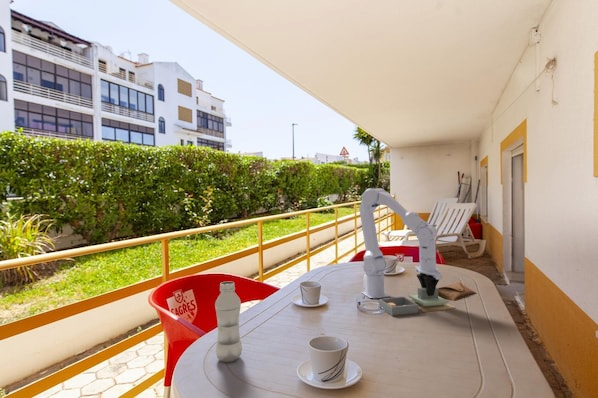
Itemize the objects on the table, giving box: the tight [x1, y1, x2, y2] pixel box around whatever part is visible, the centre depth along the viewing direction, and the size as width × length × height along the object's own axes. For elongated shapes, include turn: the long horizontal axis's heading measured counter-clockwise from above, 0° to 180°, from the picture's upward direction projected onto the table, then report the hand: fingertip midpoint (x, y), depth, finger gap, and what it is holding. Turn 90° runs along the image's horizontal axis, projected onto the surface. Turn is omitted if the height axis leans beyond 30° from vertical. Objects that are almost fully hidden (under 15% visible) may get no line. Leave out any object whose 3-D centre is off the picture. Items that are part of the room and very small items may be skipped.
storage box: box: [378, 296, 419, 317], centre depth 126 cm, size 10×10×3 cm
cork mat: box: [410, 299, 456, 313], centre depth 131 cm, size 13×13×1 cm
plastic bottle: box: [214, 281, 243, 363], centre depth 92 cm, size 6×7×20 cm
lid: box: [408, 287, 449, 306], centre depth 131 cm, size 10×10×5 cm
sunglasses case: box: [437, 281, 477, 302], centre depth 143 cm, size 18×7×7 cm
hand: (428, 294), depth 131 cm, fingers closed on lid, 2 cm apart
